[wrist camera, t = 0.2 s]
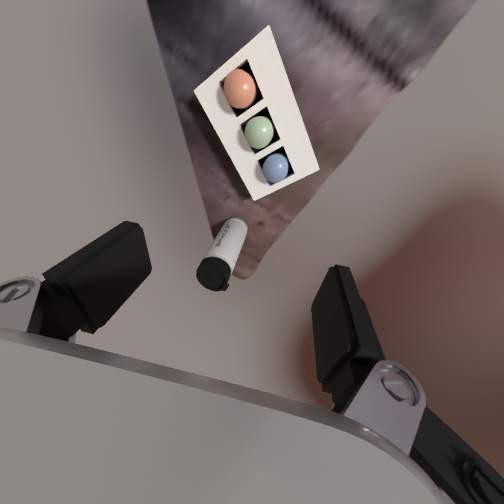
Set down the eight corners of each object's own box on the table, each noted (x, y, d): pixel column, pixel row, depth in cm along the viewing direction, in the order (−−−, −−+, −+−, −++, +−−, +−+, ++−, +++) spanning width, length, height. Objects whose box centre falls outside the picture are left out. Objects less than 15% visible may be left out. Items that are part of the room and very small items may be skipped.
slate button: (261, 159, 39) (258, 164, 36) (282, 147, 37) (281, 150, 34) (271, 180, 41) (269, 187, 38) (292, 170, 39) (291, 175, 36)
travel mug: (242, 242, 54) (220, 298, 38) (221, 230, 53) (189, 283, 37) (253, 225, 50) (234, 279, 34) (230, 212, 49) (199, 261, 33)
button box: (202, 92, 36) (193, 90, 33) (271, 33, 30) (269, 24, 27) (256, 194, 45) (254, 200, 42) (317, 164, 39) (319, 169, 36)
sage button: (244, 125, 36) (239, 126, 33) (267, 110, 34) (264, 110, 31) (256, 150, 38) (253, 153, 35) (278, 137, 36) (276, 139, 33)
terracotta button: (225, 84, 33) (217, 82, 30) (248, 65, 31) (243, 60, 28) (239, 114, 35) (233, 114, 32) (261, 97, 33) (258, 96, 30)
